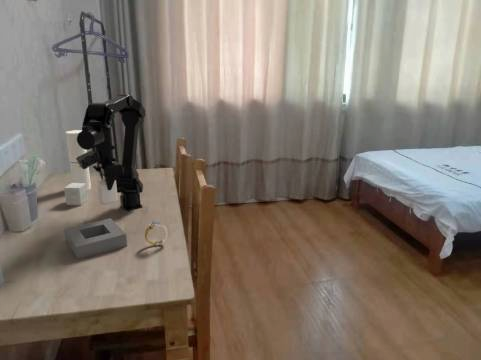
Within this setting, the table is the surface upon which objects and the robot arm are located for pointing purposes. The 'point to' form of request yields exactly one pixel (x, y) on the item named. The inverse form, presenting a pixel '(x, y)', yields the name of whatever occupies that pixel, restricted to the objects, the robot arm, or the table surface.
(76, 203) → the product box
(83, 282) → the table surface
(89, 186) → the cylindrical container
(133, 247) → the table surface
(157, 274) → the table surface
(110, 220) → the holder block
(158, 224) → the bracelet
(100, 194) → the eye dropper bottle
